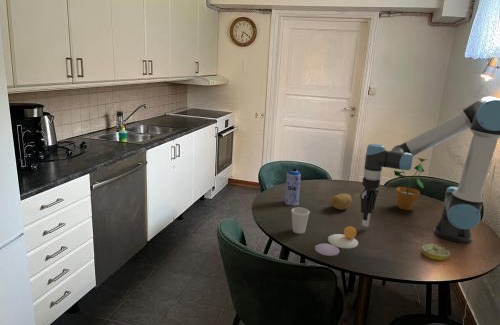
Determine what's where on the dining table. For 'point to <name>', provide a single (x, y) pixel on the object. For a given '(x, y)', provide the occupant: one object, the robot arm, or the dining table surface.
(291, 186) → the aerosol can
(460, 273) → the dining table surface
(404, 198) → the potted plant
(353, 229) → the ball
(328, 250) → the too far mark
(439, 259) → the decorated donut
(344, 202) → the potato
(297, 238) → the dining table surface
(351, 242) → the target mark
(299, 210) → the dixie cup
